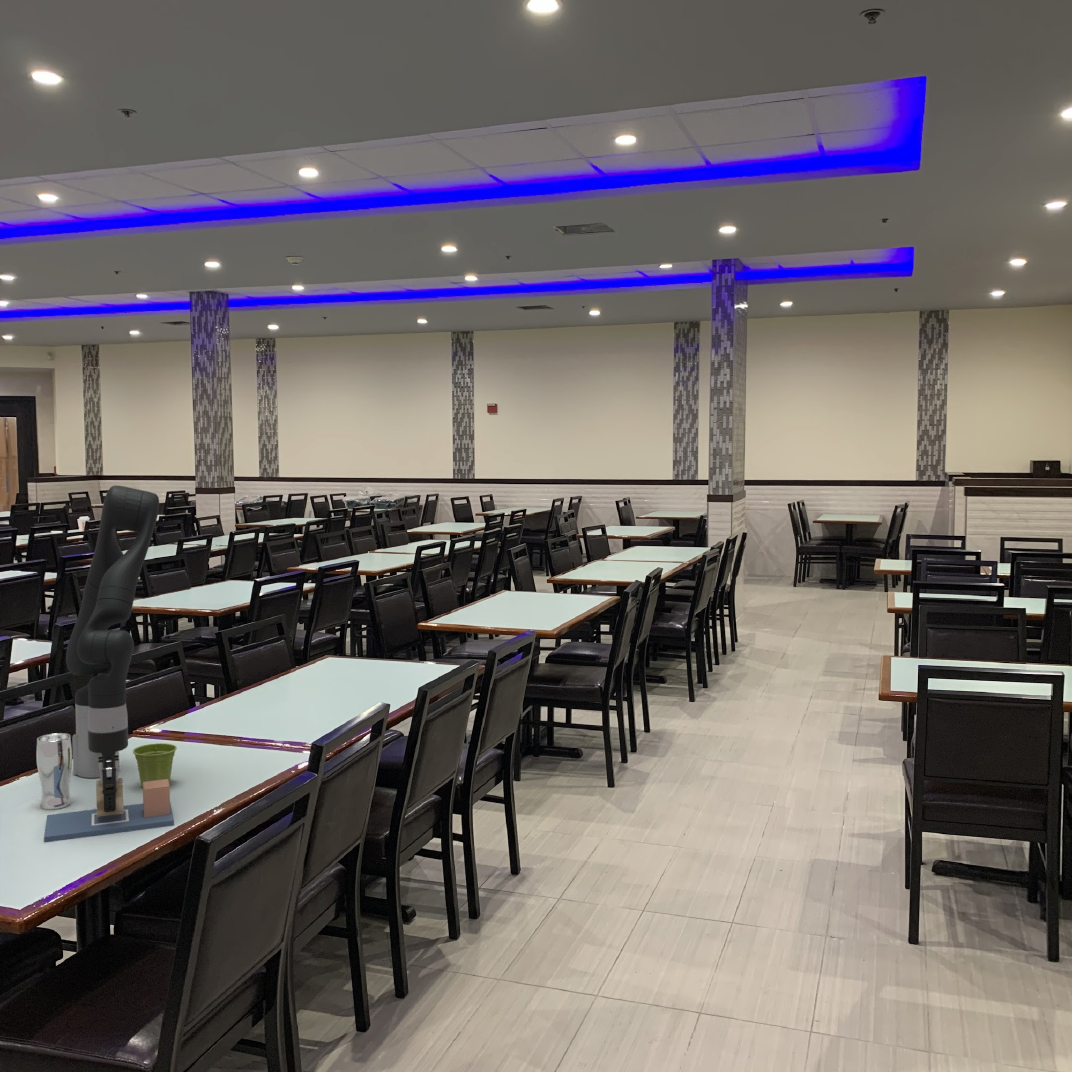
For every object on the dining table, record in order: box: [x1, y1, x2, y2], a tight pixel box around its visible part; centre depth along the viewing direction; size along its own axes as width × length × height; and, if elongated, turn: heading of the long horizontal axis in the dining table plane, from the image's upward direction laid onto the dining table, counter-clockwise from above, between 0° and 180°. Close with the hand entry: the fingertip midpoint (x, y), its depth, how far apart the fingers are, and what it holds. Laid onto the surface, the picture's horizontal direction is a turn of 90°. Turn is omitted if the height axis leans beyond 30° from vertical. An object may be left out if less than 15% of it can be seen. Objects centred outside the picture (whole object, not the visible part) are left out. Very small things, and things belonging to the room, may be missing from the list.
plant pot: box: [132, 742, 178, 788], centre depth 228 cm, size 9×9×9 cm
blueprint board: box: [43, 802, 175, 843], centre depth 206 cm, size 24×13×1 cm, turn 114°
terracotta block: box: [142, 779, 171, 817], centre depth 209 cm, size 5×5×6 cm
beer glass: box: [36, 732, 73, 811], centre depth 215 cm, size 7×7×15 cm
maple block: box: [95, 777, 124, 817], centre depth 205 cm, size 5×5×6 cm
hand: (109, 806), depth 205 cm, fingers closed on maple block, 4 cm apart
